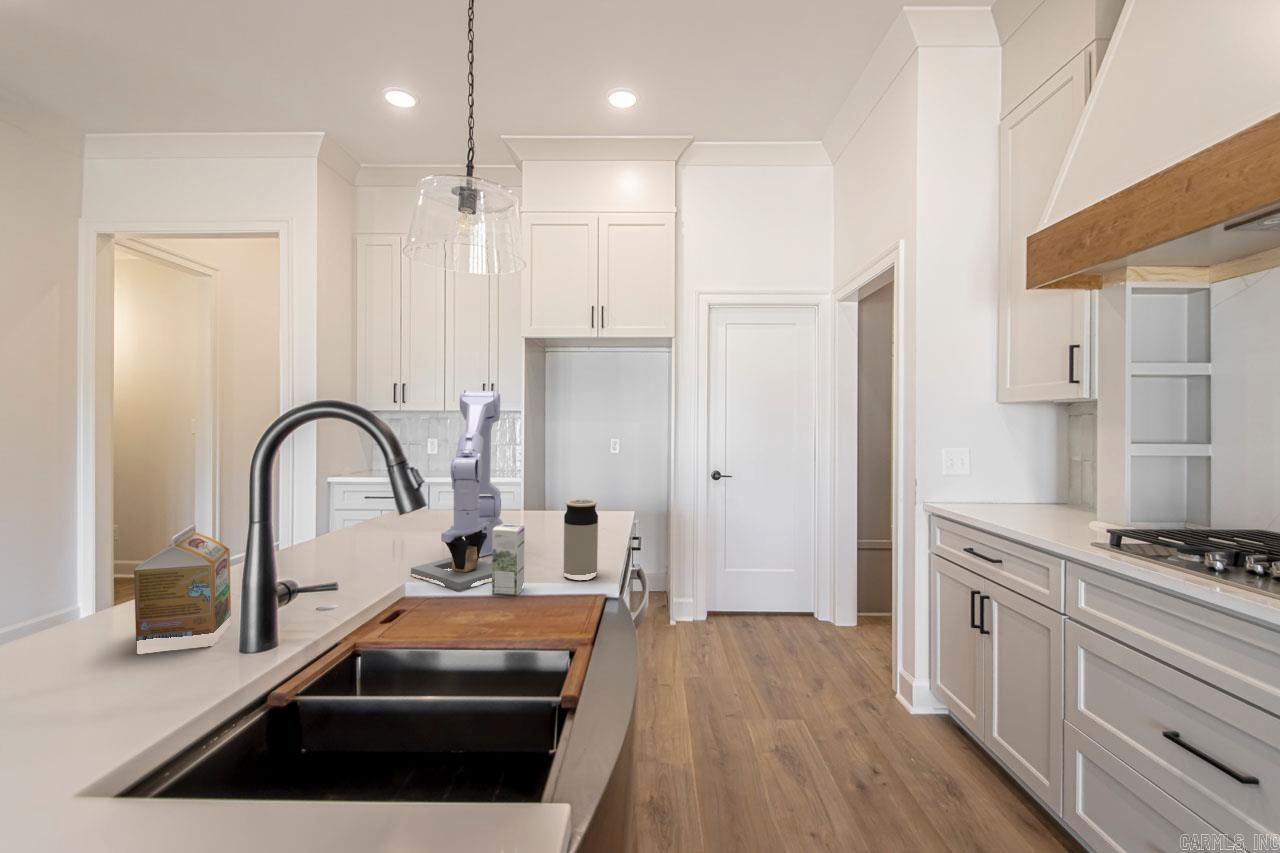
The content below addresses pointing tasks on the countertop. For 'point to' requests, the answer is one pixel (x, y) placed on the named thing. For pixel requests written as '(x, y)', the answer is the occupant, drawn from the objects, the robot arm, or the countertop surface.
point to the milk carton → (183, 588)
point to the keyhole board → (453, 574)
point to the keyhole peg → (468, 560)
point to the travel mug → (580, 537)
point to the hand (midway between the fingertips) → (466, 566)
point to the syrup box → (508, 559)
